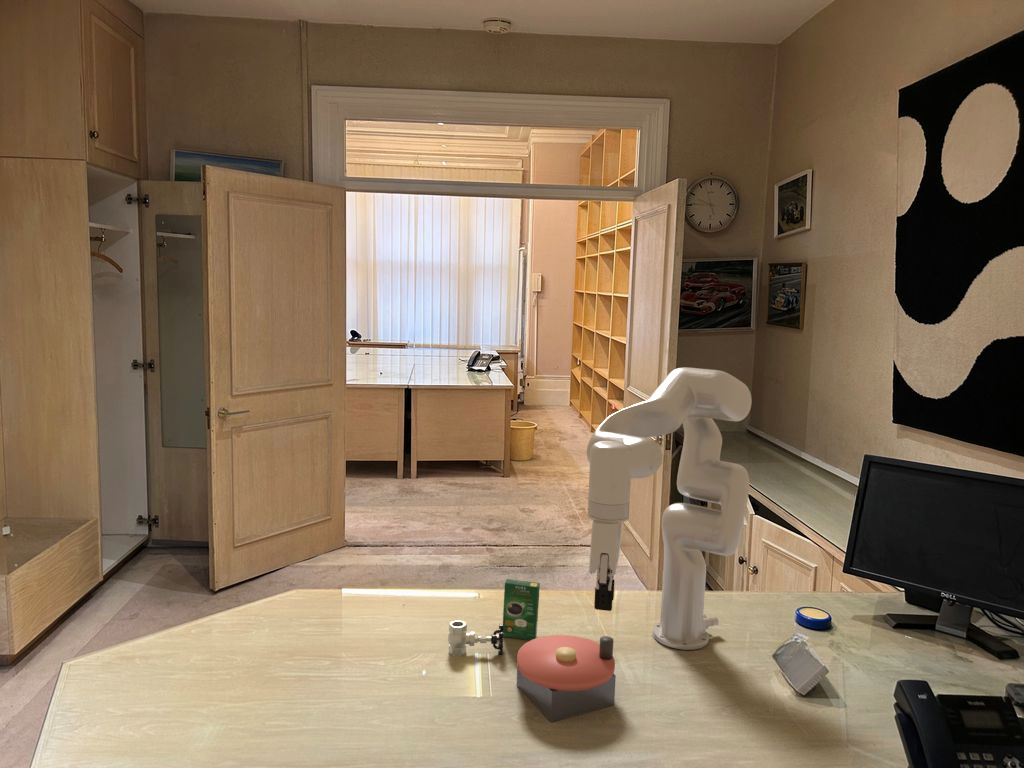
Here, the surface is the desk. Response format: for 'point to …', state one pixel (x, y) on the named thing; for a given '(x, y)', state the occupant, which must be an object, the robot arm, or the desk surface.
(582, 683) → the handwheel
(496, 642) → the valve
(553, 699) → the block
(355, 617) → the desk surface
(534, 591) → the coffee box
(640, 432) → the robot arm
